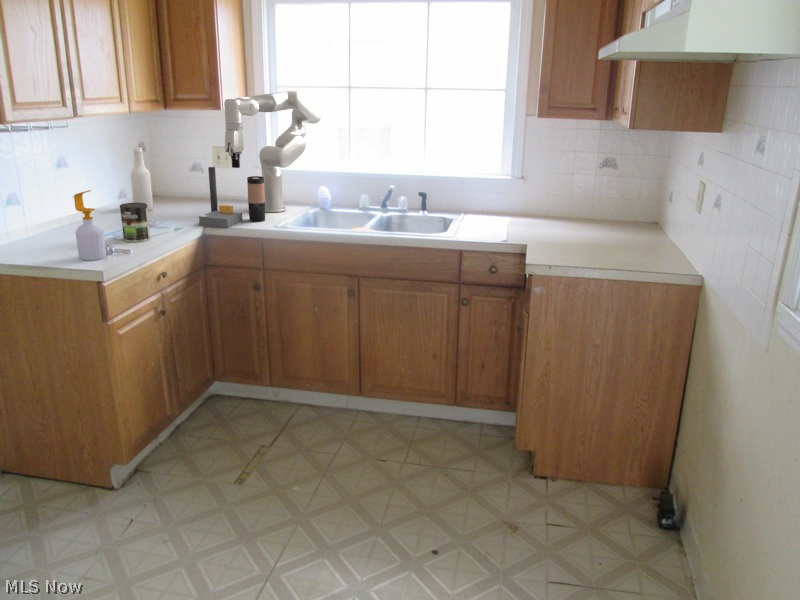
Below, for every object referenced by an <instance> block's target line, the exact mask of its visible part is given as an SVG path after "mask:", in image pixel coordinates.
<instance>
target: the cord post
mask: <svg viewBox="0 0 800 600" xmlns="http://www.w3.org/2000/svg"><path fill="white" fill-rule="evenodd" d="M207 169H208V182H209V195H210V196H209V197H210V199H209V200H210V211H211V212H213V211H219V204H218V193H217V192H218V191H217V178H216V177H217V175H216V167H214V166H209V167H208V168H207Z"/></svg>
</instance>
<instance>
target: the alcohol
mask: <svg viewBox="0 0 800 600" xmlns="http://www.w3.org/2000/svg"><path fill="white" fill-rule="evenodd" d="M132 149H133V167H132V169H131V171H130V181H131V183H130V184H131V190H132V191H131V192H132V200H133V202H132V203H145V204H147V211H148V212H151V211H154V200H153V191H152V180H151V173H150V170H149V169H148V168H147V167H146V165H145V161H144V160H145V159H144V154H143V148H142V147H139V146H138V147H137V146H135V147H133V148H132Z"/></svg>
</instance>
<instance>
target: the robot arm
mask: <svg viewBox="0 0 800 600" xmlns="http://www.w3.org/2000/svg"><path fill="white" fill-rule="evenodd" d="M223 104H224V122H225V135H224V152H226V153H228V156H230V158H231V167H232V168H233V169H239V168H241V163H240V160H241V155H242V154H243V151H244V149H245V148H244V135H243V134H244V133H243V116H251V117H252V116H255V115H257V114H258V112H259V113H275V112H281V111H285V110H292V111H291V123H290V126H289V127H288V128H287V129H286V130H285V131H284V132H283V133H282V134H280V135H279V136H278V137H277V139H276V140H275V144H274V145H275V146H273V145H267V146H263V147H262V148H261V150H260V151H259V154H258V156H259V157H258V159H259V164H260V167H261V177H264V192H265V213H283V212H285V211H286V209H287V208H286V207H285V206H283V204H285V199H283V180H282V179H283V176H282V170H281V169H283V168H284V169H285V168H288V167H289V166H290V165H292V164H293V163H294V162H296V160H297V159H298V158H300V156H302V154H304V151H305V150H306V139H305V138H304V137H305V136H306V124H317V123H318V122H320V121H321V119H322V111H321V109H320V107H319V106H318V105H317V104H316V103H315V102H313V100H312V99H310V97H309V96H308V95H306V94H305V93H303V92H302V91H299V90H298V91H296V90H295V91H294V90H286V91H285V90H284V91H277V92H271V93H263V94H256V95H248V96H239V97H235V98H226V99H225V100H224V102H223ZM282 211H283V212H282Z"/></svg>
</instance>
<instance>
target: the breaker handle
mask: <svg viewBox="0 0 800 600" xmlns="http://www.w3.org/2000/svg"><path fill="white" fill-rule="evenodd" d="M218 211H219V212H220V213H233V212H234V205H228V204H226V205H225V204H218Z"/></svg>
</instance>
